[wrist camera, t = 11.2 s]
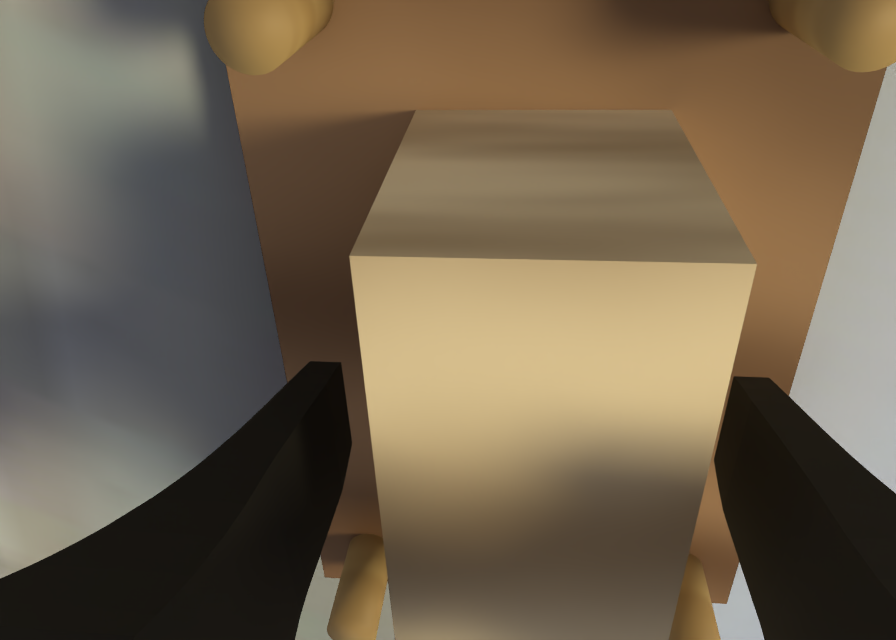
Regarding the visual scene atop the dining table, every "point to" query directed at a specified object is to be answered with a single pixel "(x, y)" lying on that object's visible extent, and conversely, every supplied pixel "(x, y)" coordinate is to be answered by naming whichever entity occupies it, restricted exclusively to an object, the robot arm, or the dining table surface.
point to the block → (544, 369)
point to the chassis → (544, 88)
